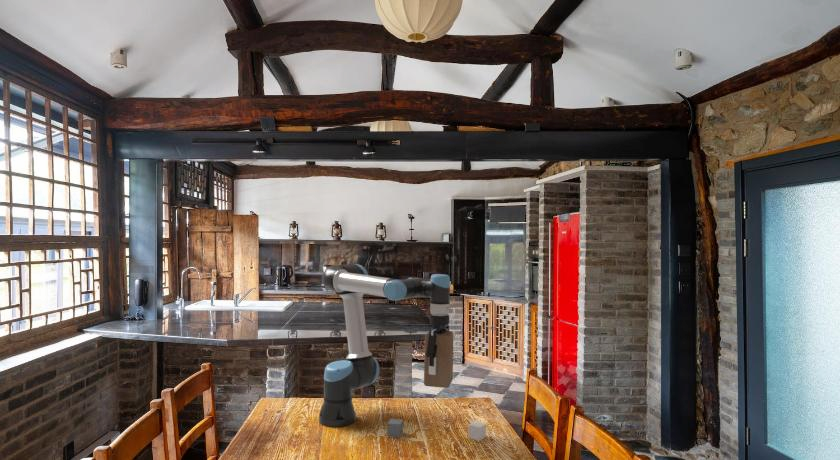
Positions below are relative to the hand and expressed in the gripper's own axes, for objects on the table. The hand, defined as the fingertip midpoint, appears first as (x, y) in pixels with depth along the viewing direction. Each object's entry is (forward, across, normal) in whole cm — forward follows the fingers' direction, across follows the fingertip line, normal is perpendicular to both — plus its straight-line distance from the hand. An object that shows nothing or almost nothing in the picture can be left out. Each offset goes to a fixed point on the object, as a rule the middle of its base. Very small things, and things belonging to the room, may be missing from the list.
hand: (438, 370), depth 188 cm
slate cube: (+25, -7, +15) cm, 30 cm away
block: (+5, 0, 0) cm, 5 cm away
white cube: (+25, +6, -14) cm, 29 cm away
